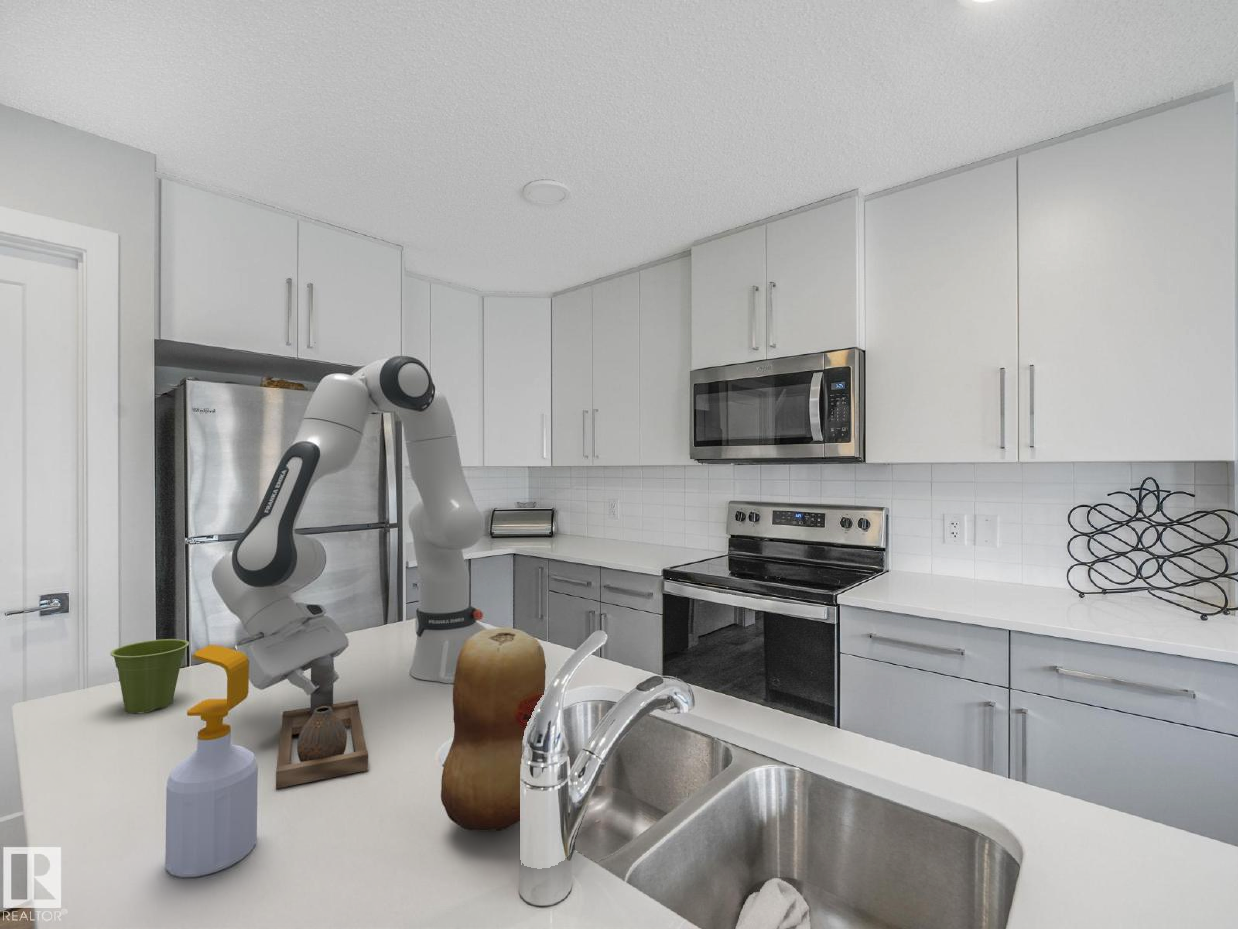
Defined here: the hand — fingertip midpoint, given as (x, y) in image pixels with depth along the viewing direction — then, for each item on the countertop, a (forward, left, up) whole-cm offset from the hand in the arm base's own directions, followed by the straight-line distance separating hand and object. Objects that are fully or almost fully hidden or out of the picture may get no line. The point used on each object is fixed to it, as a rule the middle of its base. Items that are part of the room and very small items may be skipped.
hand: (324, 686), depth 106 cm
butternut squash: (-20, +41, -8) cm, 46 cm away
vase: (0, +14, -8) cm, 16 cm away
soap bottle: (+12, +32, -8) cm, 35 cm away
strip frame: (0, +8, -7) cm, 11 cm away
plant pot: (+29, -24, -8) cm, 39 cm away
